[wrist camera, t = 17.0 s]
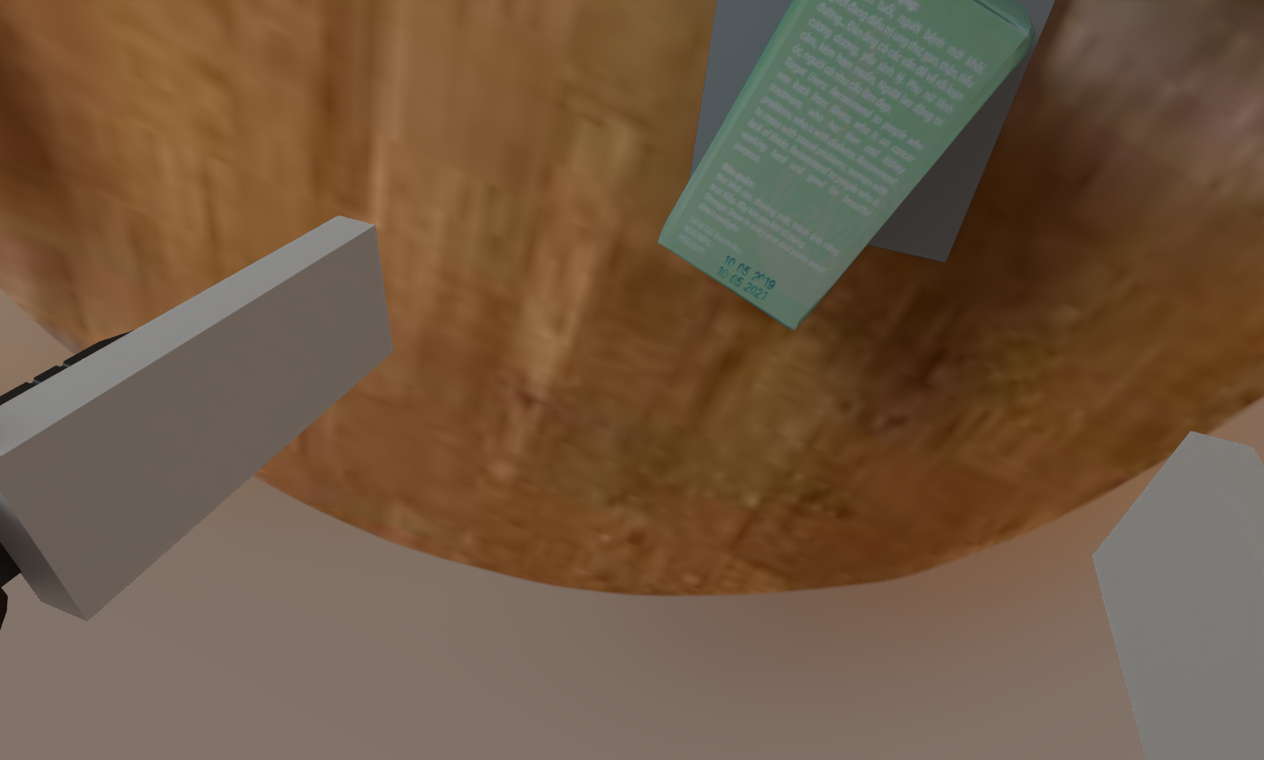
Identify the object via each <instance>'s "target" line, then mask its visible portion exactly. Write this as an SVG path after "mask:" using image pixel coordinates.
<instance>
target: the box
mask: <svg viewBox="0 0 1264 760" xmlns="http://www.w3.org/2000/svg"><path fill="white" fill-rule="evenodd" d="M1034 34H1035V30H1034V27H1033V25H1032V22H1031V19H1030V17H1029V14H1028V10H1027V7H1026V6H1024V5H1022V4H1021V3H1019V2H1017V1H1015V0H793V1H792V3H791V4H790V6H789V8H788V9H787V11H786V13H785V15H784V16H783V18H782V20H781V22H780V23H779V25H778V27H777V29H776V30H775V32H774V34H773V36H772V37H771V39H770V41H769V43H768V44H767V46H766V48H765V50H764V51H763V53H762V55H761V57H760V58H759V60H758V62H757V64H756V65H755V67H754V69H753V71H752V72H751V74H750V76H749V78H748V79H747V81H746V83H745V85H744V86H743V88H742V90H741V92H740V94H739V95H738V97H737V99H736V101H735V102H734V104H733V106H732V108H731V109H730V111H729V113H728V115H727V116H726V118H725V120H724V122H723V123H722V125H721V127H720V129H719V130H718V132H717V134H716V135H715V137H714V139H713V141H712V142H711V144H710V146H709V148H708V149H707V151H706V153H705V155H704V156H703V158H702V160H701V161H700V163H699V165H698V167H697V168H696V170H695V172H694V173H693V175H692V177H691V179H690V180H689V182H688V184H687V186H686V187H685V189H684V191H683V193H682V194H681V196H680V198H679V200H678V201H677V203H676V205H675V207H674V208H673V210H672V212H671V214H670V215H669V217H668V219H667V221H666V223H665V224H664V227H663V229H662V231H661V234H660V237H659V240H658V243H659V244H661V245H662V246H664V247H666V248H667V249H669V250H670V251H672V252H673V253H675V254H676V255H678V256H679V257H681V258H682V259H684V260H685V261H687V262H688V263H690V264H691V265H693V266H695V267H696V268H698V269H699V270H701V271H702V272H704V273H705V274H707V275H708V276H710V277H711V278H713V279H714V280H716V281H717V282H719V283H720V284H722V285H724V286H725V287H727V288H728V289H730V290H731V291H733V292H734V293H736V294H737V295H739V296H740V297H742V298H743V299H745V300H746V301H748V302H749V303H751V304H752V305H754V306H756V307H757V308H759V309H760V310H762V311H763V312H765V313H766V314H768V315H769V316H771V317H772V318H774V319H775V320H777V321H778V322H780V323H781V324H783V325H784V326H785V327H788V328H790V329H792V330H795V329H796V328H797V327H798V326H799V325H800V324H801V323H802V322H803V321H804V320H805V318H806V317H807V316H808V315H809V314H810V313H811V312H812V311H813V310H814V309H815V308H816V307H817V305H818V304H819V303H820V302H821V300H822V299H823V298H824V297H825V295H826V294H827V293H828V292H829V291H830V289H831V288H832V287H833V286H834V284H835V283H836V282H837V281H838V280H839V278H840V277H841V276H842V275H843V273H844V272H845V271H846V270H847V269H848V267H849V266H850V265H851V264H852V263H853V261H854V260H855V259H856V258H857V256H858V255H859V254H860V253H861V252H862V250H863V249H864V248H865V247H866V246H867V244H868V243H869V242H870V241H871V239H872V238H873V237H874V236H875V235H876V233H877V232H878V231H879V230H880V229H881V227H882V226H883V225H884V224H885V222H886V221H887V220H888V219H889V218H890V216H891V215H892V214H893V213H894V211H895V210H896V209H897V208H898V207H899V205H900V204H901V203H902V202H903V201H904V199H905V198H906V197H907V196H908V195H909V193H910V192H911V191H912V190H913V189H914V187H915V186H916V185H917V184H918V183H919V181H920V180H921V179H922V178H923V177H924V176H925V174H926V173H927V172H928V171H929V170H930V168H931V167H932V166H933V165H934V164H935V162H936V161H937V160H938V159H939V158H940V156H941V155H942V154H943V153H944V152H945V150H946V149H947V148H948V147H949V145H950V144H951V143H952V142H953V141H954V139H955V138H956V137H957V136H958V135H959V133H960V132H961V131H962V130H963V128H964V127H965V126H966V125H967V124H968V122H969V121H970V120H971V119H972V118H973V116H974V115H975V114H976V113H977V112H978V110H979V109H980V108H981V107H982V106H983V104H984V103H985V102H986V101H987V100H988V98H989V97H990V96H991V95H992V94H993V92H994V91H995V90H996V89H997V88H998V86H999V85H1000V84H1001V83H1002V82H1003V81H1004V79H1005V78H1006V77H1007V76H1008V75H1009V73H1010V72H1011V71H1012V70H1013V69H1014V68H1015V67H1016V66H1017V65H1018V64H1019V63H1020V62H1021V61H1022V60H1023V58H1024V57H1025V56H1026V54H1027V51H1028V49H1029V47H1030V45H1031V43H1032V41H1033V39H1034Z"/></svg>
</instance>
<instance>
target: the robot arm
mask: <svg viewBox="0 0 1264 760" xmlns="http://www.w3.org/2000/svg"><path fill="white" fill-rule="evenodd" d="M392 352H393V346H392V339H391V332H390V325H389V318H388V311H387V304H386V297H385V290H384V283H383V277H382V270H381V263H380V256H379V249H378V242H377V235H376V228H375V225H373V224H369V223H365V222H362V221H358V220H354V219H350V218H346V217H342V216H337V217H335V218H333V219H331V220H330V221H328V222H326V223H324V224H322V225H321V226H319V227H317V228H315V229H314V230H312V231H310V232H308V233H306V234H305V235H303V236H301V237H299V238H298V239H296V240H294V241H292V242H290V243H289V244H287V245H285V246H283V247H282V248H280V249H278V250H276V251H274V252H273V253H271V254H269V255H267V256H266V257H264V258H262V259H260V260H258V261H257V262H255V263H253V264H251V265H250V266H248V267H246V268H244V269H242V270H241V271H239V272H237V273H235V274H234V275H232V276H230V277H228V278H226V279H225V280H223V281H221V282H219V283H218V284H216V285H214V286H212V287H210V288H209V289H207V290H205V291H203V292H202V293H200V294H198V295H196V296H194V297H193V298H191V299H189V300H187V301H186V302H184V303H182V304H180V305H178V306H177V307H175V308H173V309H171V310H170V311H168V312H166V313H164V314H162V315H161V316H159V317H157V318H155V319H153V320H152V321H150V322H148V323H146V324H145V325H143V326H141V327H139V328H137V329H136V330H133V331H130V332H127V333H124V334H121V335H118V336H115V337H112V338H109V339H106V340H103V341H100V342H98V343H96V344H94V345H92V346H91V347H89V348H87V349H85V350H83V351H81V352H80V353H78V354H76V355H74V356H73V357H71V358H69V359H67V360H65V361H64V364H63V365H62V366H61V367H59V366H54V367H52V368H51V369H49V370H47V371H45V372H44V373H42V374H40V375H38V376H36V377H34V381H33V382H32V383H27V382H25V383H24V384H22V385H20V386H18V387H16V388H14V389H13V390H11V391H9V392H7V393H5V394H4V395H2V396H0V629H1V626H2V623H3V620H4V617H5V615H6V612H7V600H8V596H7V594H6V593H5V592H4V591H3V589H2V588H1V587H2V586H4V585H5V584H6V583H7V582H8V581H10V580H11V579H13V578H14V577H15V576H17V575H18V574H19V573H21V574H22V575H23V577H24V578H25V580H26V581H27V582H28V584H29V585H30V586H31V588H32V589H33V591H34V592H35V594H36V595H37V596H38V598H39V599H40V600H41V602H44V603H46V604H48V605H51V606H53V607H56V608H58V609H60V610H62V611H65V612H67V613H69V614H72V615H74V616H77V617H79V618H81V619H84V620H86V621H88V620H89V619H90V618H92V617H93V616H94V615H95V614H96V613H97V612H98V611H100V610H101V609H102V608H103V607H104V606H105V605H106V604H107V603H108V602H110V601H111V600H112V599H113V598H114V597H115V596H116V595H118V594H119V593H120V592H121V591H122V590H123V589H124V588H126V586H128V585H129V584H130V583H131V582H132V581H133V580H135V579H136V578H137V577H138V576H139V575H140V574H141V573H142V572H144V571H145V570H146V569H147V568H148V567H149V566H150V565H152V564H153V563H154V562H155V561H156V560H157V559H158V558H160V557H161V556H162V555H163V554H164V553H165V552H166V551H168V549H170V548H171V547H172V546H173V545H174V544H175V543H176V542H178V541H179V540H180V539H181V538H182V537H183V536H185V535H186V534H187V533H188V532H189V531H190V530H191V529H192V528H193V527H195V526H196V525H197V524H198V523H199V522H200V521H201V520H203V519H204V518H205V517H206V516H207V515H208V514H209V513H211V512H212V511H213V510H214V509H215V508H216V507H217V506H219V505H220V504H221V503H222V502H223V501H224V500H225V499H226V498H227V497H229V496H230V495H231V494H232V493H233V492H234V491H235V490H237V489H238V488H239V487H240V486H241V485H242V484H243V483H245V481H247V480H248V479H249V478H250V477H251V476H252V475H254V474H255V473H256V472H257V471H258V470H259V469H260V468H262V467H263V466H264V465H265V464H266V463H267V462H268V461H269V460H271V459H272V458H273V457H274V456H275V455H276V454H277V453H279V452H280V451H281V450H282V449H283V448H284V447H285V446H286V445H288V444H289V443H290V442H291V441H292V440H293V439H294V438H296V437H297V436H298V435H299V434H300V433H301V432H302V431H303V430H305V429H306V428H307V427H308V426H309V425H310V424H311V423H313V422H314V421H315V420H316V419H317V418H318V417H319V416H320V415H322V414H323V413H324V412H325V411H326V410H327V409H328V408H330V407H331V406H332V405H333V404H334V403H335V402H336V401H337V400H339V399H340V398H341V397H342V396H343V395H344V394H345V393H347V392H348V391H349V390H350V389H351V388H352V387H353V386H354V385H356V384H357V383H358V382H359V381H360V380H361V379H362V378H364V377H365V376H366V375H367V374H368V373H369V372H370V371H371V370H373V369H374V368H375V367H376V366H377V365H378V364H379V363H381V362H382V361H383V360H384V359H385V358H386V357H387V356H388V355H390V354H391V353H392ZM1092 559H1093V563H1094V567H1095V570H1096V574H1097V578H1098V582H1099V585H1100V589H1101V592H1102V596H1103V600H1104V604H1105V608H1106V611H1107V615H1108V619H1109V623H1110V626H1111V630H1112V634H1113V638H1114V641H1115V645H1116V648H1117V652H1118V656H1119V660H1120V664H1121V667H1122V671H1123V675H1124V679H1125V682H1126V686H1127V690H1128V694H1129V697H1130V701H1131V705H1132V708H1133V712H1134V716H1135V719H1136V723H1137V727H1138V730H1139V734H1140V738H1141V742H1142V746H1143V750H1144V753H1145V757H1146V760H1264V465H1263V463H1262V462H1261V460H1260V459H1259V457H1258V455H1257V454H1256V452H1255V451H1254V449H1253V447H1252V446H1248V445H1244V444H1240V443H1236V442H1232V441H1228V440H1224V439H1220V438H1216V437H1212V436H1208V435H1204V434H1200V433H1196V432H1192V431H1190V432H1189V434H1188V435H1187V436H1186V437H1185V439H1184V440H1183V441H1182V442H1181V444H1180V445H1179V446H1178V448H1177V449H1176V450H1175V451H1174V453H1173V454H1172V455H1171V456H1170V458H1169V459H1168V460H1167V462H1166V463H1165V464H1164V465H1163V467H1162V468H1161V469H1160V470H1159V472H1158V473H1157V474H1156V475H1155V477H1154V478H1153V479H1152V481H1151V482H1150V483H1149V485H1148V486H1147V487H1146V488H1145V489H1144V491H1143V492H1142V493H1141V494H1140V496H1139V497H1138V498H1137V500H1136V501H1135V502H1134V503H1133V505H1132V506H1131V507H1130V508H1129V510H1128V511H1127V512H1126V514H1125V515H1124V516H1123V517H1122V519H1121V520H1120V521H1119V522H1118V524H1117V525H1116V526H1115V527H1114V529H1113V530H1112V531H1111V533H1110V534H1109V535H1108V537H1107V538H1106V539H1105V540H1104V541H1103V543H1102V544H1101V545H1100V547H1099V548H1098V549H1097V550H1096V552H1095V553H1094V554H1093V555H1092Z"/></svg>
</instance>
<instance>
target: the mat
mask: <svg viewBox="0 0 1264 760" xmlns="http://www.w3.org/2000/svg"><path fill="white" fill-rule="evenodd" d="M792 1H793V0H717V5H716V12H715V18H714V25H713V31H712V38H711V44H710V51H709V57H708V64H707V70H706V77H705V83H704V90H703V96H702V103H701V109H700V116H699V122H698V129H697V135H696V142H695V148H694V155H693V161H692V168H691V174H690V179H691V177H692V175H693V173H694V172H695V170H696V168H697V167H698V165H699V163H700V161H701V160H702V158H703V156H704V155H705V153H706V151H707V149H708V148H709V146H710V144H711V142H712V141H713V139H714V137H715V135H716V134H717V132H718V130H719V129H720V127H721V125H722V123H723V122H724V120H725V118H726V116H727V115H728V113H729V111H730V109H731V108H732V106H733V104H734V102H735V101H736V99H737V97H738V95H739V94H740V92H741V90H742V88H743V86H744V85H745V83H746V81H747V79H748V78H749V76H750V74H751V72H752V71H753V69H754V67H755V65H756V64H757V62H758V60H759V58H760V57H761V55H762V53H763V51H764V50H765V48H766V46H767V44H768V43H769V41H770V39H771V37H772V36H773V34H774V32H775V30H776V29H777V27H778V25H779V23H780V22H781V20H782V18H783V16H784V15H785V13H786V11H787V9H788V8H789V6H790V4H791V3H792ZM1015 1H1017V2H1019V3H1021V4H1022V5H1024V6H1026V7H1027V10H1028V14H1029V17H1030V19H1031V22H1032V25H1033V27H1034V30H1035V34H1034V39H1033V41H1032V43H1031V45H1030V47H1029V49H1028V51H1027V54H1026V56H1025V57H1024V58H1023V60H1022V61H1021V62H1020V63H1019V64H1018V65H1017V66H1016V67H1015V68H1014V69H1013V70H1012V71H1011V72H1010V73H1009V75H1008V76H1007V77H1006V78H1005V79H1004V81H1003V82H1002V83H1001V84H1000V85H999V86H998V88H997V89H996V90H995V91H994V92H993V94H992V95H991V96H990V97H989V98H988V100H987V101H986V102H985V103H984V104H983V106H982V107H981V108H980V109H979V110H978V112H977V113H976V114H975V115H974V116H973V118H972V119H971V120H970V121H969V122H968V124H967V125H966V126H965V127H964V128H963V130H962V131H961V132H960V133H959V135H958V136H957V137H956V138H955V139H954V141H953V142H952V143H951V144H950V145H949V147H948V148H947V149H946V150H945V152H944V153H943V154H942V155H941V156H940V158H939V159H938V160H937V161H936V162H935V164H934V165H933V166H932V167H931V168H930V170H929V171H928V172H927V173H926V174H925V176H924V177H923V178H922V179H921V180H920V181H919V183H918V184H917V185H916V186H915V187H914V189H913V190H912V191H911V192H910V193H909V195H908V196H907V197H906V198H905V199H904V201H903V202H902V203H901V204H900V205H899V207H898V208H897V209H896V210H895V211H894V213H893V214H892V215H891V216H890V218H889V219H888V220H887V221H886V222H885V224H884V225H883V226H882V227H881V229H880V230H879V231H878V232H877V233H876V235H875V236H874V237H873V238H872V239H871V241H870V242H869V243H868V244H867V245H870V246H875V247H879V248H883V249H888V250H892V251H897V252H901V253H905V254H910V255H914V256H919V257H923V258H928V259H932V260H936V261H941V262H945V263H946V260H947V258H948V256H949V253H950V251H951V248H952V246H953V244H954V241H955V239H956V236H957V234H958V232H959V229H960V227H961V224H962V222H963V220H964V217H965V215H966V212H967V210H968V208H969V205H970V203H971V201H972V198H973V196H974V193H975V191H976V189H977V186H978V184H979V181H980V179H981V177H982V174H983V172H984V169H985V167H986V165H987V162H988V160H989V157H990V155H991V153H992V150H993V148H994V145H995V143H996V141H997V138H998V136H999V134H1000V131H1001V129H1002V126H1003V124H1004V122H1005V119H1006V117H1007V114H1008V112H1009V110H1010V107H1011V105H1012V102H1013V100H1014V98H1015V95H1016V93H1017V90H1018V88H1019V86H1020V83H1021V81H1022V78H1023V76H1024V74H1025V71H1026V69H1027V67H1028V64H1029V62H1030V59H1031V57H1032V55H1033V52H1034V50H1035V47H1036V45H1037V43H1038V40H1039V38H1040V35H1041V33H1042V31H1043V28H1044V26H1045V23H1046V21H1047V19H1048V16H1049V14H1050V12H1051V9H1052V7H1053V4H1054V2H1055V0H1015Z"/></svg>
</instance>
